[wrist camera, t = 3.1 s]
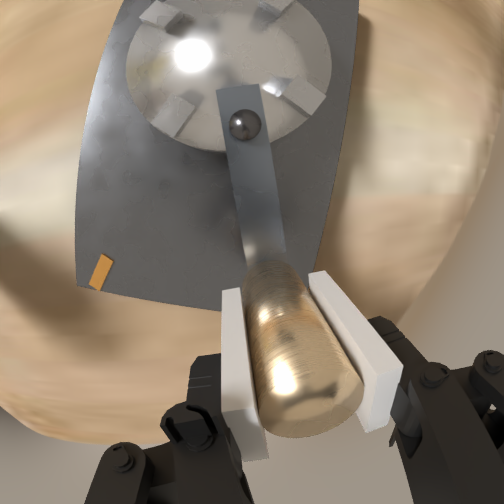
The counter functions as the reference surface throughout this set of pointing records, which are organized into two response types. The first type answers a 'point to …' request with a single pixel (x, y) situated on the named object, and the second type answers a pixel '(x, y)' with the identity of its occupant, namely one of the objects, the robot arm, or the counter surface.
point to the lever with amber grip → (252, 176)
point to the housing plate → (195, 183)
